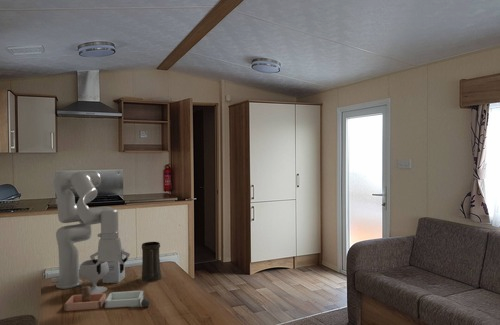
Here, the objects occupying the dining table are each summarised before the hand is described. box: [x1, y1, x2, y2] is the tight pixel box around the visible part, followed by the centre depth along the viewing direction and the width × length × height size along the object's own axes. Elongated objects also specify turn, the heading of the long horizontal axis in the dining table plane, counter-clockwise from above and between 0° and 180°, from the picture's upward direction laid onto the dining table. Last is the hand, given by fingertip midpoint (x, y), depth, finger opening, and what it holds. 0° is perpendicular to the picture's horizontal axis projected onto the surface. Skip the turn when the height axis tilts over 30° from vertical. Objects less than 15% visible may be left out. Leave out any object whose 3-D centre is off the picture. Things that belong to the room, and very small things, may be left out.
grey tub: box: [104, 290, 145, 309], centre depth 178 cm, size 15×11×4 cm
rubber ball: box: [141, 298, 151, 308], centre depth 174 cm, size 4×4×4 cm
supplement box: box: [102, 247, 126, 284], centre depth 212 cm, size 10×9×17 cm
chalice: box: [79, 258, 109, 294], centre depth 194 cm, size 14×14×15 cm
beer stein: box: [141, 241, 162, 283], centre depth 211 cm, size 15×11×20 cm
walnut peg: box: [81, 285, 91, 302], centre depth 176 cm, size 4×4×8 cm
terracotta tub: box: [64, 292, 107, 312], centre depth 176 cm, size 15×11×4 cm
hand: (110, 272), depth 177 cm, fingers open, 9 cm apart
